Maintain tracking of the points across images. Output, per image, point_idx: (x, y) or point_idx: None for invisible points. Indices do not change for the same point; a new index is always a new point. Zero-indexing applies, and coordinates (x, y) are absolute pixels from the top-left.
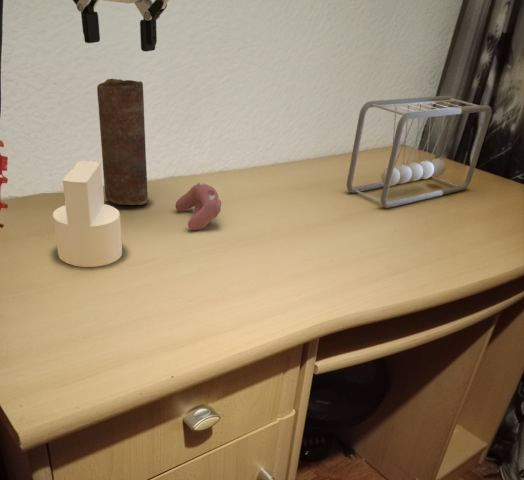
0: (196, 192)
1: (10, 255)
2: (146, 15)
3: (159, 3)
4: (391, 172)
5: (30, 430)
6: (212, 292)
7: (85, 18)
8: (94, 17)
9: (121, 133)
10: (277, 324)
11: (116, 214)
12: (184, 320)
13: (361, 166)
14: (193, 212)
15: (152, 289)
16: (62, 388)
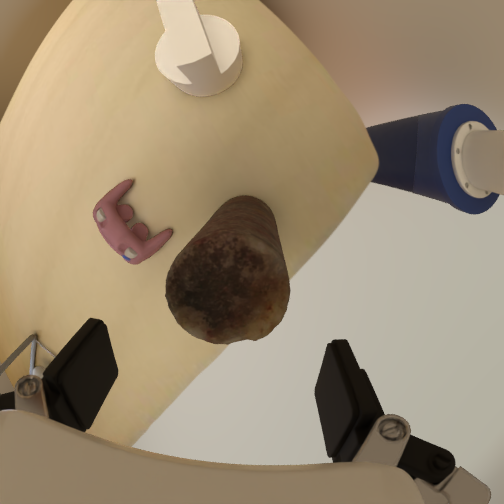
0: (128, 231)
1: (281, 27)
2: (30, 389)
3: None
4: (15, 350)
5: None
6: (74, 72)
7: (356, 397)
8: (333, 435)
9: (216, 217)
10: (33, 70)
11: (161, 65)
12: (85, 28)
13: (102, 424)
14: (147, 229)
15: (118, 43)
16: None
